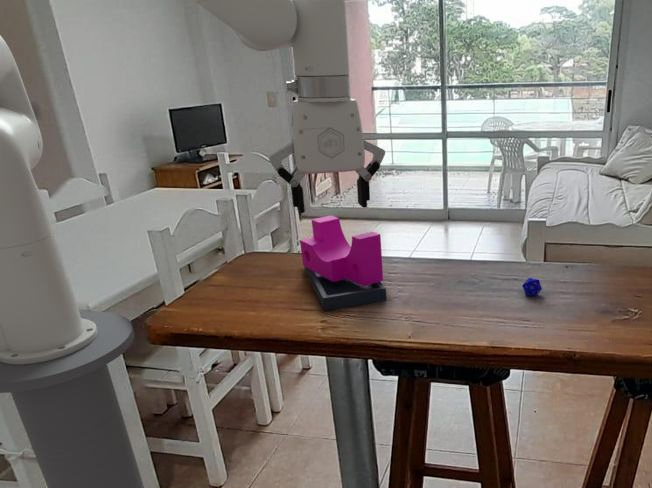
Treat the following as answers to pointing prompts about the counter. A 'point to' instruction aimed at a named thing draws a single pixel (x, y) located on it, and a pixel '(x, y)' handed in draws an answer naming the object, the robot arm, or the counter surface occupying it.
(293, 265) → the counter surface
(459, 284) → the counter surface
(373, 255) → the toy block
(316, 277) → the rectangular tray
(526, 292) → the die
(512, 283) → the counter surface
